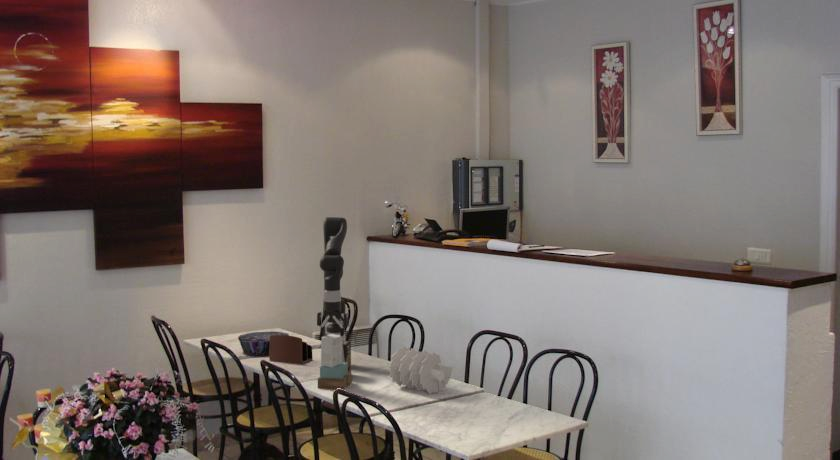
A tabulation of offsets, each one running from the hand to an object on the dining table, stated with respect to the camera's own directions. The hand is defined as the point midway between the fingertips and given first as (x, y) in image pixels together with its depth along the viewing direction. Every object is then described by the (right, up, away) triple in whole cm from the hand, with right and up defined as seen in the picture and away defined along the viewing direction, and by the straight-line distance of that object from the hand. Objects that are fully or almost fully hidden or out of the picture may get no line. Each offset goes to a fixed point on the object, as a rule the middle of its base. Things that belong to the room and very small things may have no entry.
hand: (332, 335), depth 381 cm
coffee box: (+3, -22, +19) cm, 29 cm away
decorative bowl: (-45, -18, +75) cm, 89 cm away
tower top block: (0, -18, +2) cm, 18 cm away
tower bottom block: (+1, -23, +3) cm, 23 cm away
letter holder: (-27, -19, +51) cm, 61 cm away
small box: (-1, -13, +2) cm, 14 cm away
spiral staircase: (+39, -23, -5) cm, 46 cm away
